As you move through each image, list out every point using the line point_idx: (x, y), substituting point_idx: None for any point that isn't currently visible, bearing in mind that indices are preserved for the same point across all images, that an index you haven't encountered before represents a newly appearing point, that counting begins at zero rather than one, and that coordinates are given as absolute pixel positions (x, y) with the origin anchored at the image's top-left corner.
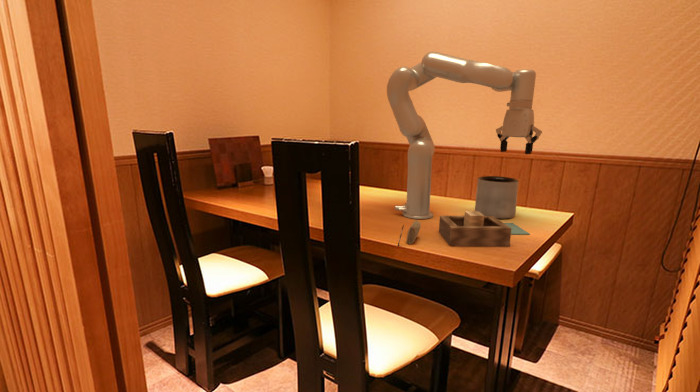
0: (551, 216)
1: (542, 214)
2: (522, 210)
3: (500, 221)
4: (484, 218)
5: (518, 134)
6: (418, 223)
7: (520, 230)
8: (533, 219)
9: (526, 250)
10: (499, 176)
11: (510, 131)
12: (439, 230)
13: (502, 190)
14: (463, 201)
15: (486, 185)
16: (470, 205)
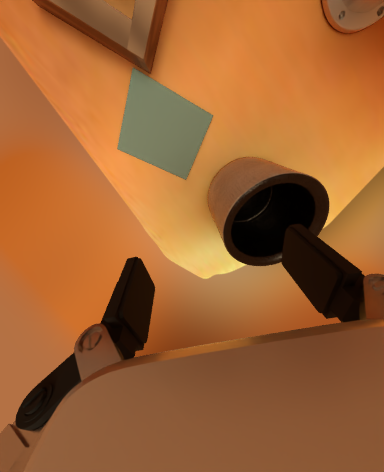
0: (193, 263)
1: (205, 261)
2: None
3: (80, 15)
4: (135, 5)
5: (163, 397)
6: None
7: (139, 149)
8: (191, 231)
9: (11, 30)
10: None
11: (363, 451)
12: None
13: (228, 195)
14: (333, 214)
15: (271, 171)
16: None
